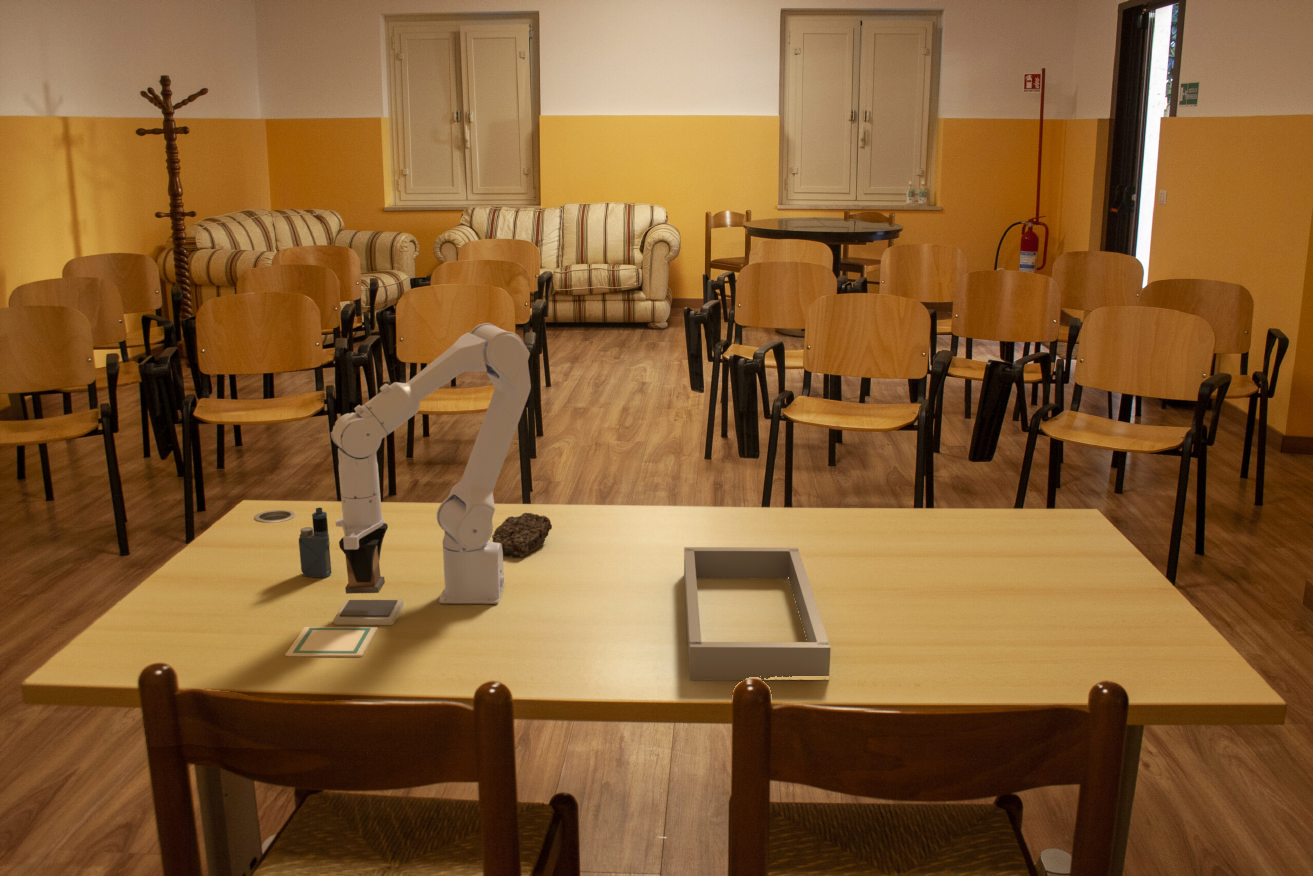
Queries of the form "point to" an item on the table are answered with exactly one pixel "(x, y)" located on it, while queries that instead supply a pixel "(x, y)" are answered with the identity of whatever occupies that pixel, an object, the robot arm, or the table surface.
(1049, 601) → the table surface
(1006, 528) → the table surface
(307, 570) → the vaping device
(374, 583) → the stamp
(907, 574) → the table surface
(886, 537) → the table surface
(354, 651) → the print sheet
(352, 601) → the ink pad
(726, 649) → the open rectangular frame
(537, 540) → the dark brown rock
